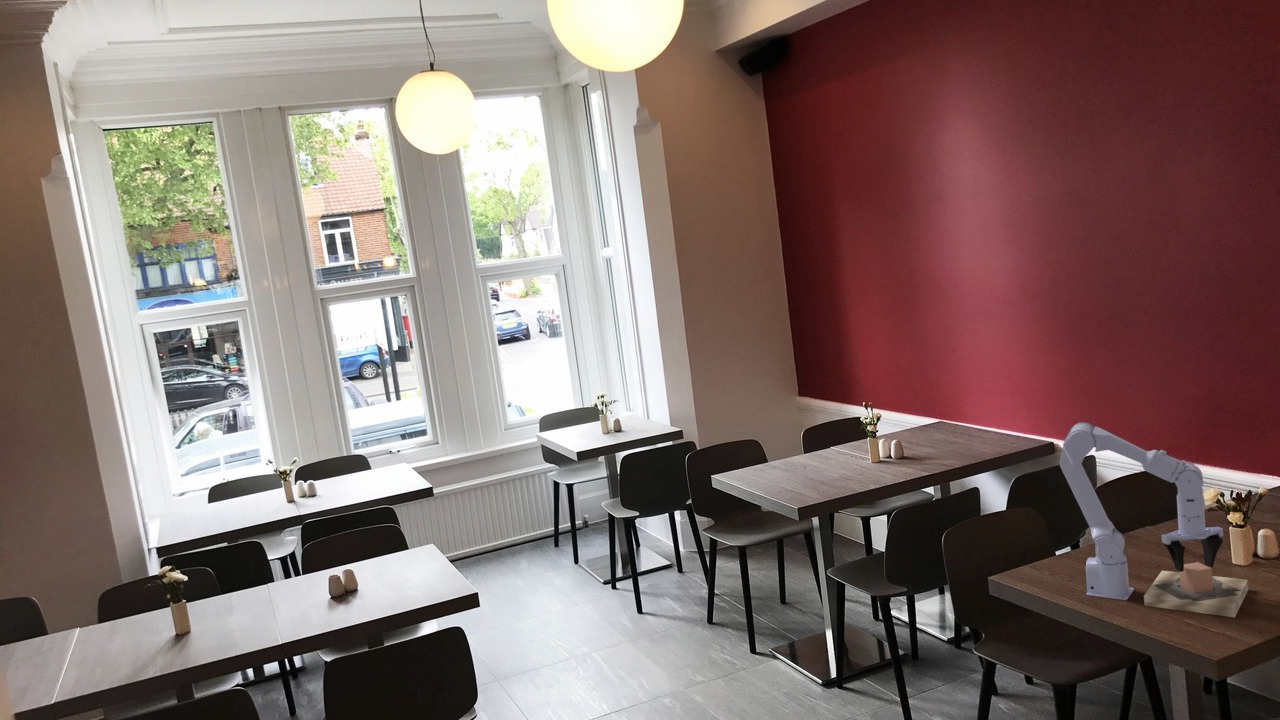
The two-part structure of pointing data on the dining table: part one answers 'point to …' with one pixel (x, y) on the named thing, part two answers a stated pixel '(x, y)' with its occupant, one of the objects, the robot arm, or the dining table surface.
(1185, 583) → the peg
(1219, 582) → the socket board
